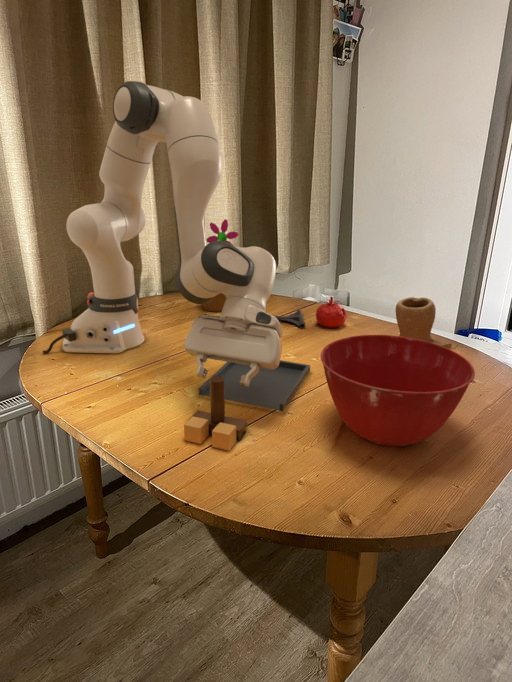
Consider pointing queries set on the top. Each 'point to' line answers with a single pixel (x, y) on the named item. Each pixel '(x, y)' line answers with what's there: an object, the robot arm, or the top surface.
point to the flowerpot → (220, 299)
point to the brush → (220, 409)
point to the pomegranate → (331, 314)
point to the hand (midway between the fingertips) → (221, 381)
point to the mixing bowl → (394, 386)
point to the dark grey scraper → (293, 319)
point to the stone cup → (417, 319)
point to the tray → (261, 384)
